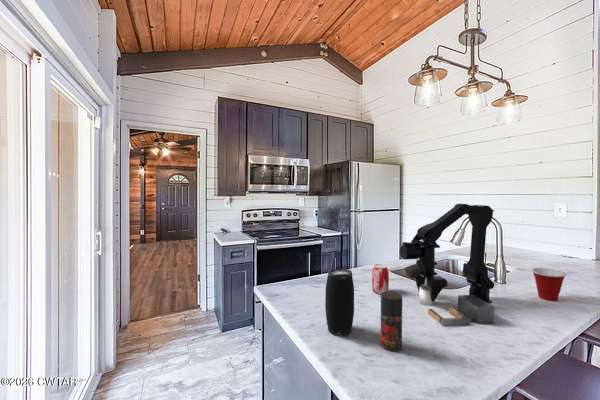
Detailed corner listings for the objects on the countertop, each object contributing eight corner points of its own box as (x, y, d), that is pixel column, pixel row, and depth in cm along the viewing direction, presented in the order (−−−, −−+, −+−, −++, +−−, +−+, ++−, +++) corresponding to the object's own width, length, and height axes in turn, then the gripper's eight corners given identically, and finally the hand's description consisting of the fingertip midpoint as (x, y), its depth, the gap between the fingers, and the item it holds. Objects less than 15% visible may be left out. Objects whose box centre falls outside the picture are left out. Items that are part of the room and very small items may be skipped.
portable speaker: (320, 328, 89) (320, 269, 88) (341, 321, 94) (342, 265, 93) (337, 340, 81) (337, 276, 81) (359, 332, 86) (359, 271, 86)
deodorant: (377, 340, 81) (377, 291, 81) (396, 339, 82) (396, 291, 81) (385, 352, 75) (385, 299, 75) (405, 351, 76) (406, 299, 75)
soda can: (389, 295, 116) (389, 268, 116) (372, 294, 118) (372, 267, 117) (387, 290, 123) (387, 264, 123) (371, 289, 125) (371, 263, 124)
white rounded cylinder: (428, 300, 112) (428, 283, 111) (435, 305, 107) (435, 288, 106) (416, 300, 111) (417, 284, 111) (423, 306, 106) (423, 288, 106)
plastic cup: (525, 296, 116) (526, 268, 116) (538, 292, 121) (539, 265, 120) (558, 305, 106) (558, 275, 106) (570, 301, 111) (571, 272, 110)
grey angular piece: (468, 308, 104) (469, 292, 104) (494, 323, 92) (494, 306, 92) (422, 310, 102) (423, 294, 102) (442, 326, 90) (443, 308, 90)
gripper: (397, 253, 117) (396, 289, 117) (419, 265, 98) (419, 307, 99) (421, 253, 118) (421, 288, 118) (448, 264, 99) (448, 306, 100)
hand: (426, 296), depth 109 cm, fingers open, 9 cm apart
